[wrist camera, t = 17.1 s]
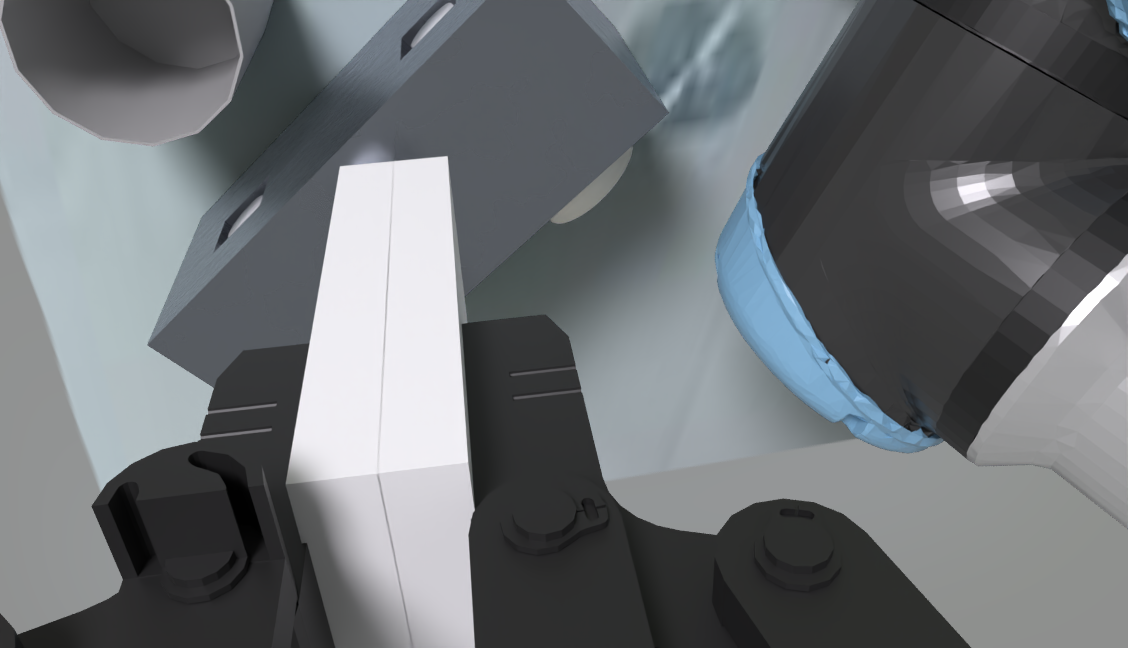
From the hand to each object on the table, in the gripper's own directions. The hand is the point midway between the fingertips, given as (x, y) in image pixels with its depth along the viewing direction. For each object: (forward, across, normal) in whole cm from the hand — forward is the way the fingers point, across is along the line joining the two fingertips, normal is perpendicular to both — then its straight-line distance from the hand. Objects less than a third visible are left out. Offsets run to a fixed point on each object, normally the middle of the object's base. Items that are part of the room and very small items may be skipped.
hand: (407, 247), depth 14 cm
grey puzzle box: (+34, -2, -11) cm, 36 cm away
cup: (+35, -11, -3) cm, 36 cm away
